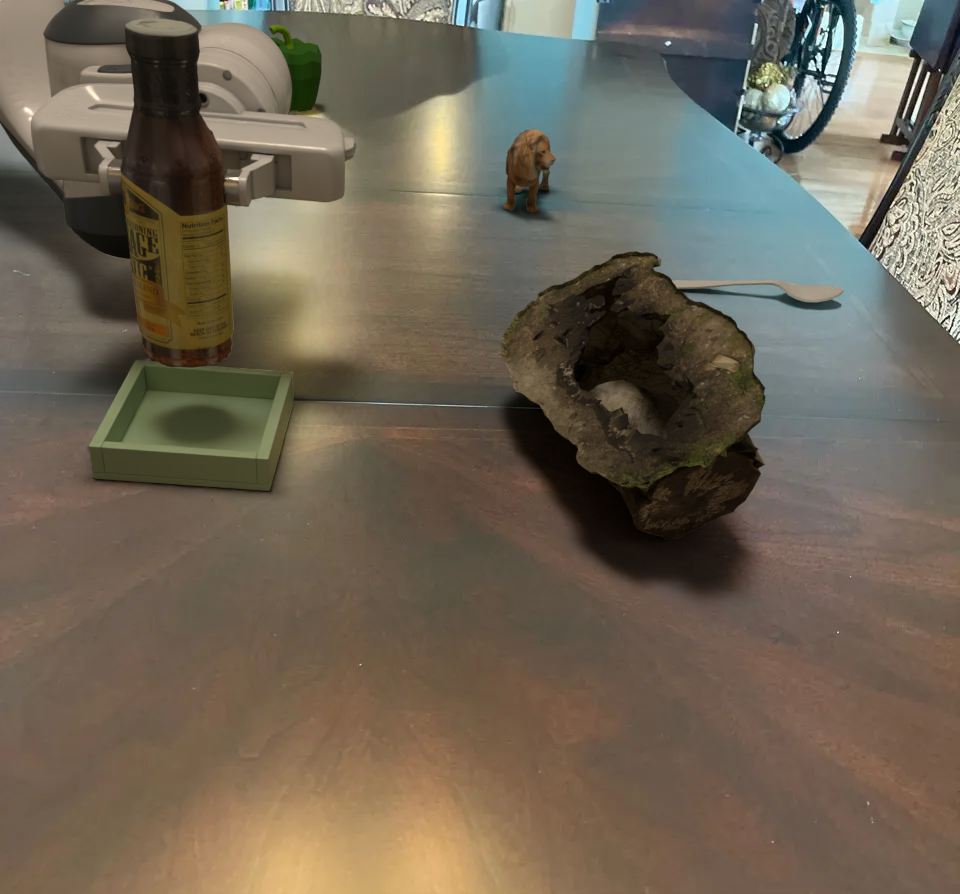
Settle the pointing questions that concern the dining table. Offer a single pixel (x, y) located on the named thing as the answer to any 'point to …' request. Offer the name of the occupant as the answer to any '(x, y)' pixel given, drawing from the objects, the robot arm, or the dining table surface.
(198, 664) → the dining table surface
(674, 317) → the brown hollow wooden log
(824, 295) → the spoon
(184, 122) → the sauce bottle
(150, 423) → the green tray
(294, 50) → the bell pepper
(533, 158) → the lion figurine
